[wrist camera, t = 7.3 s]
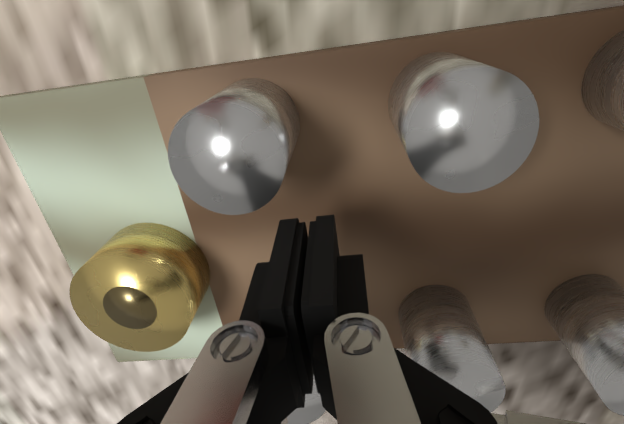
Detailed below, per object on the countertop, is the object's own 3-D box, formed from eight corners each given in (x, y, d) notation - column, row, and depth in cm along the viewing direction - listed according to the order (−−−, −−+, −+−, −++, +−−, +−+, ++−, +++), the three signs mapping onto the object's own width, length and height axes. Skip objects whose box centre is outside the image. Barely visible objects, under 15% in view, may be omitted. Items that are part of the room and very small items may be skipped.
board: (2, 96, 14) (-16, 99, 14) (800, -21, 11) (831, -23, 10) (125, 349, 20) (117, 361, 19) (674, 320, 17) (689, 334, 16)
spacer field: (203, 84, 13) (151, 110, 9) (703, 15, 11) (876, 14, 7) (270, 346, 18) (253, 427, 15) (614, 329, 16) (691, 416, 13)
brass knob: (85, 237, 16) (44, 274, 14) (180, 210, 15) (152, 244, 13) (140, 317, 18) (111, 361, 16) (227, 297, 17) (209, 340, 15)
